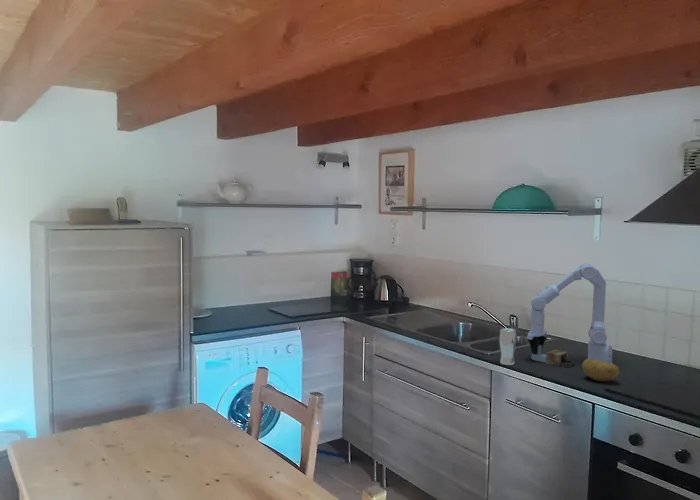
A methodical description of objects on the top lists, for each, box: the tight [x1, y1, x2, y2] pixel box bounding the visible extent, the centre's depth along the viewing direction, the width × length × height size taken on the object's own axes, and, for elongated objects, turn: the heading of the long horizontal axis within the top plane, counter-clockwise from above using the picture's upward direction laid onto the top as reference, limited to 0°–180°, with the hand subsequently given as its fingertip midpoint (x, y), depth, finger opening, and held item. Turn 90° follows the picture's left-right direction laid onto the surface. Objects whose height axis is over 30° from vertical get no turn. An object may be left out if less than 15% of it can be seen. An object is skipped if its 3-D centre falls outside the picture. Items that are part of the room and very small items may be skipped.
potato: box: [581, 358, 620, 382], centre depth 229 cm, size 10×14×8 cm
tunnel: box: [545, 349, 569, 367], centre depth 254 cm, size 6×8×5 cm
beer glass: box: [499, 327, 517, 366], centre depth 254 cm, size 7×7×15 cm
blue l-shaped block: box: [530, 345, 562, 363], centre depth 258 cm, size 12×4×6 cm, turn 44°
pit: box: [559, 359, 576, 368], centre depth 251 cm, size 3×7×1 cm, turn 134°
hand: (536, 352), depth 261 cm, fingers closed on blue l-shaped block, 3 cm apart
